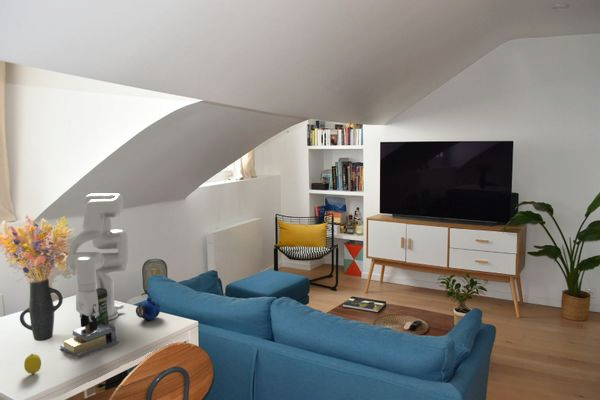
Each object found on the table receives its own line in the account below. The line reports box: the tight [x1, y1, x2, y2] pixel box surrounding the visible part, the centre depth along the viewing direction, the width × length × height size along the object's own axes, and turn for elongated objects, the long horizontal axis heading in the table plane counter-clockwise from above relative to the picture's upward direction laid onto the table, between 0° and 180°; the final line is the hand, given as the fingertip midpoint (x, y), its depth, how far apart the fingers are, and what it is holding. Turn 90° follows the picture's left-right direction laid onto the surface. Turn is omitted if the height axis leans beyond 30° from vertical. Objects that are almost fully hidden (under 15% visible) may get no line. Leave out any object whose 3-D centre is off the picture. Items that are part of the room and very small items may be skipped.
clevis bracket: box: [59, 321, 120, 359], centre depth 209 cm, size 18×14×7 cm
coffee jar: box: [88, 288, 110, 324], centre depth 226 cm, size 10×8×19 cm
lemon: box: [23, 353, 42, 375], centre depth 184 cm, size 6×6×8 cm
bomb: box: [135, 289, 161, 321], centre depth 237 cm, size 10×11×15 cm
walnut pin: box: [85, 324, 92, 333], centre depth 208 cm, size 3×3×9 cm
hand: (89, 327), depth 208 cm, fingers open, 5 cm apart
